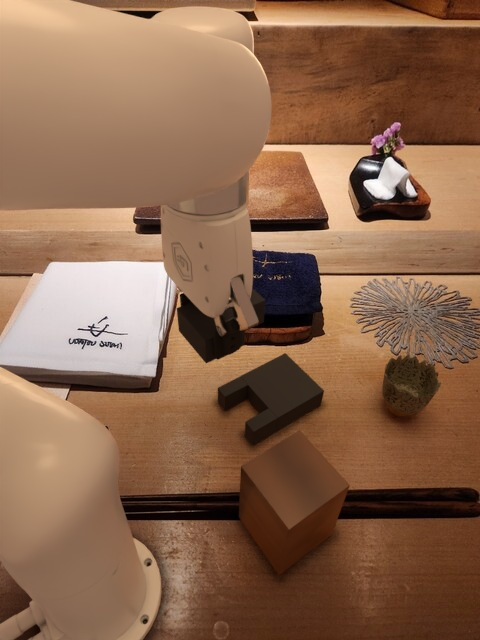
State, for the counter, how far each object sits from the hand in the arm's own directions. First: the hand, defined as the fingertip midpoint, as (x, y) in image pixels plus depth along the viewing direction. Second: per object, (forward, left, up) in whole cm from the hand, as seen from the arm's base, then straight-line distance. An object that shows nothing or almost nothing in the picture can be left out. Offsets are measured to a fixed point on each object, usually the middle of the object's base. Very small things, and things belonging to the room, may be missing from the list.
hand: (210, 333), depth 51 cm
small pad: (+2, 0, -1) cm, 2 cm away
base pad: (+10, 0, -20) cm, 22 cm away
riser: (0, -16, -20) cm, 25 cm away
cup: (+25, -12, -20) cm, 34 cm away
